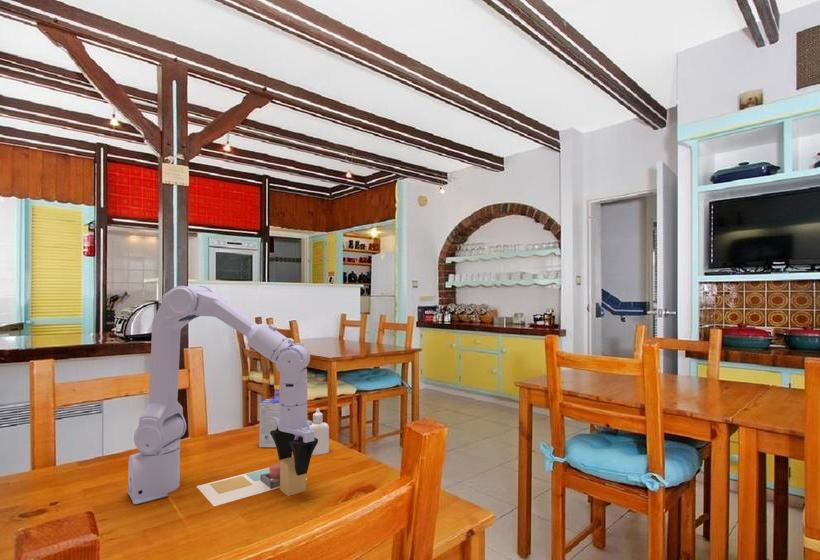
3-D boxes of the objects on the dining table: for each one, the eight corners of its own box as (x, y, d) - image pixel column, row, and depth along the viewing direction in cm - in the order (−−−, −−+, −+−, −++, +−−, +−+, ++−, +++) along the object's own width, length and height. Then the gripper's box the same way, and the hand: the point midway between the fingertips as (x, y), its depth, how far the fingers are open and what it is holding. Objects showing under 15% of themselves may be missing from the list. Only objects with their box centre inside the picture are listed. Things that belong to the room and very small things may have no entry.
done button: (273, 480, 99) (273, 470, 99) (266, 475, 102) (266, 466, 102) (289, 476, 102) (289, 466, 102) (282, 471, 104) (282, 462, 104)
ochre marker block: (288, 500, 94) (288, 465, 95) (279, 493, 98) (280, 459, 98) (306, 494, 97) (306, 460, 97) (297, 488, 100) (297, 455, 100)
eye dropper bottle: (310, 452, 122) (310, 406, 123) (330, 453, 122) (330, 406, 122) (304, 457, 118) (304, 410, 118) (325, 459, 117) (325, 411, 118)
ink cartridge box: (300, 441, 131) (300, 389, 131) (295, 448, 125) (295, 394, 126) (265, 441, 131) (265, 389, 131) (258, 448, 125) (258, 394, 126)
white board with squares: (213, 510, 90) (213, 500, 90) (196, 489, 99) (196, 480, 99) (308, 482, 103) (308, 473, 103) (284, 467, 112) (284, 458, 112)
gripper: (327, 406, 95) (327, 473, 94) (295, 394, 106) (295, 454, 106) (295, 412, 90) (295, 483, 90) (265, 399, 101) (265, 462, 101)
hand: (293, 468), depth 97 cm, fingers open, 7 cm apart
